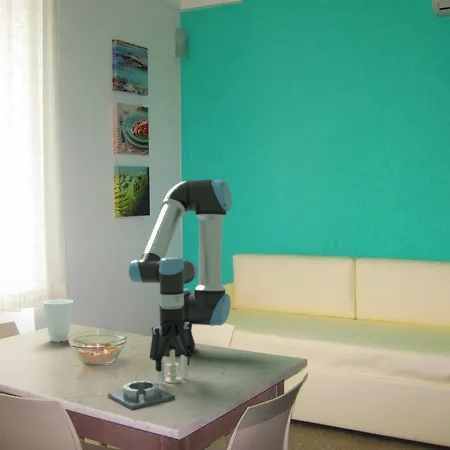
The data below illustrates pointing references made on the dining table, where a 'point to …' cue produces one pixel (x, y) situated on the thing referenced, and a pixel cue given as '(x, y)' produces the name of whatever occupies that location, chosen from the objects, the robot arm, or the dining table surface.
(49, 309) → the cup
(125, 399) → the ring stand
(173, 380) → the candle
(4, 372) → the dining table surface
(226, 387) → the dining table surface
